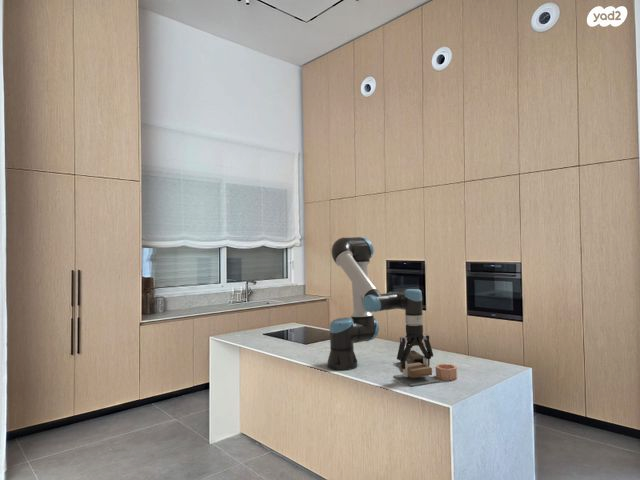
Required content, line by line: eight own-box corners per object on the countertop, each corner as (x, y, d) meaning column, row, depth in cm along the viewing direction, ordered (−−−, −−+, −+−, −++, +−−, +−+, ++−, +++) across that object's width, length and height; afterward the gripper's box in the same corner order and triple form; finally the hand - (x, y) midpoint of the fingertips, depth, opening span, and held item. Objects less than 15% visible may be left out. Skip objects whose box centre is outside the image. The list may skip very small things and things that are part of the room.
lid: (400, 371, 191) (399, 364, 192) (419, 368, 195) (419, 362, 195) (412, 377, 182) (412, 370, 182) (432, 374, 185) (431, 367, 186)
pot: (432, 375, 193) (432, 365, 193) (448, 373, 196) (448, 363, 196) (444, 381, 185) (444, 370, 185) (461, 378, 188) (460, 367, 188)
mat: (393, 376, 193) (393, 375, 193) (420, 373, 198) (420, 371, 198) (411, 386, 179) (411, 385, 179) (439, 382, 184) (439, 380, 184)
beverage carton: (414, 361, 219) (414, 348, 220) (430, 371, 200) (430, 357, 201) (399, 362, 218) (399, 349, 218) (414, 373, 199) (414, 359, 199)
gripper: (396, 327, 182) (397, 380, 181) (440, 323, 189) (442, 373, 189) (387, 325, 189) (389, 375, 188) (430, 320, 196) (432, 369, 196)
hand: (415, 374), depth 189 cm, fingers closed on lid, 10 cm apart
